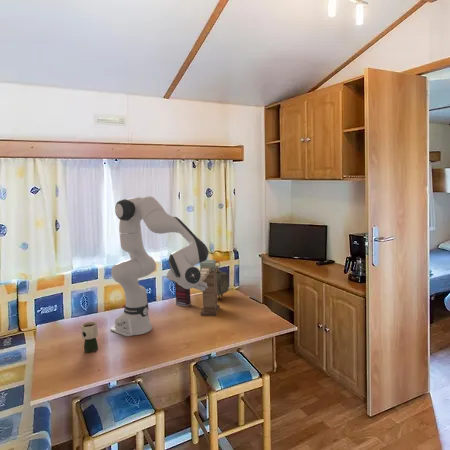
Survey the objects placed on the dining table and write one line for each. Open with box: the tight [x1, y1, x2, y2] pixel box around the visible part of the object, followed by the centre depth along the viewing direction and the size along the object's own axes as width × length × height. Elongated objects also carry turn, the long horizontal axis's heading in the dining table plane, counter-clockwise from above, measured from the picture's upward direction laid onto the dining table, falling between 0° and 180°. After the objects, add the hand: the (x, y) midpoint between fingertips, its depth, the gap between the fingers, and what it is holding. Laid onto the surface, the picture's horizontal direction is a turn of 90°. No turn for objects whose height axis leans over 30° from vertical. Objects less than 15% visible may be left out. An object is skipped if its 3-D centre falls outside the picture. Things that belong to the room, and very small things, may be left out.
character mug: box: [80, 321, 99, 353], centre depth 178 cm, size 11×7×13 cm, turn 32°
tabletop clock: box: [216, 261, 230, 300], centre depth 246 cm, size 14×9×25 cm, turn 128°
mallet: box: [199, 259, 217, 281], centre depth 210 cm, size 27×8×5 cm, turn 172°
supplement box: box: [174, 282, 192, 307], centre depth 238 cm, size 9×5×16 cm, turn 58°
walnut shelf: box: [200, 265, 220, 317], centre depth 222 cm, size 18×9×26 cm, turn 172°
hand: (185, 282), depth 189 cm, fingers open, 8 cm apart
